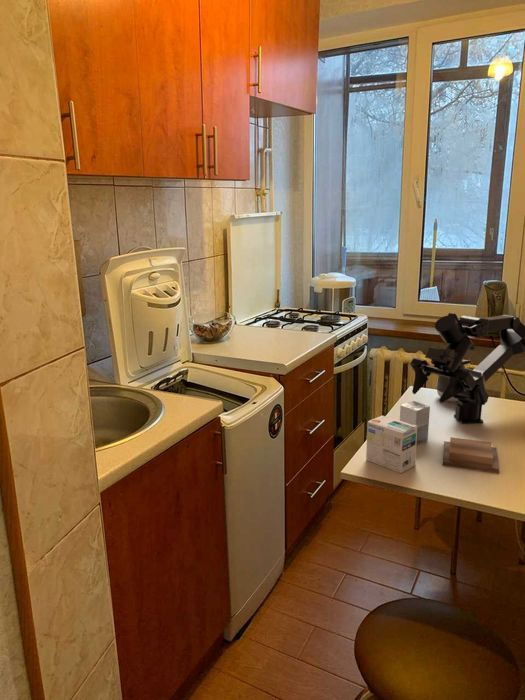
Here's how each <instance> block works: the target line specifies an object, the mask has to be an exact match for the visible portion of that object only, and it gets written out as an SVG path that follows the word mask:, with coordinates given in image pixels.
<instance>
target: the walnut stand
mask: <svg viewBox="0 0 525 700" xmlns="http://www.w3.org/2000/svg"><path fill="white" fill-rule="evenodd" d="M442 452H443V453H442V463H441V464H442V466H444V467H445V466H446V467H453V468H458V469H459V468H460V469H467V470H476V471H480V472H489V473H496V474H499V473H500V464H499V456H498V449H497V447H495V446H492V441H487V440H477V439H471V438H470V439H469V438H461V437H450V441H445V440H444V441H443V451H442Z"/></svg>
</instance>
